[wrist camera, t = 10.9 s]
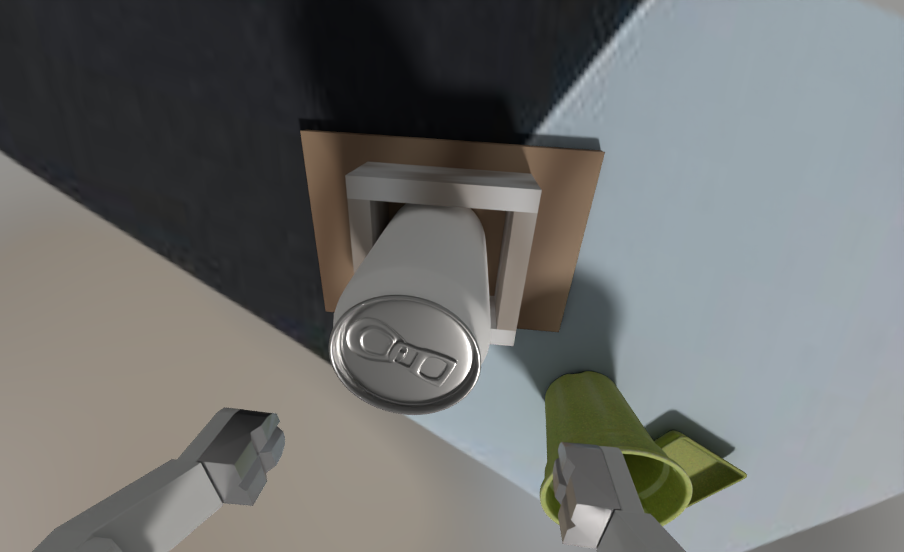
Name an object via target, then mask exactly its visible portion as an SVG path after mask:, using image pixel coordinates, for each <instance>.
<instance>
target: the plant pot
mask: <svg viewBox="0 0 904 552" xmlns="http://www.w3.org/2000/svg"><path fill="white" fill-rule="evenodd" d="M545 413H546V436H547V464H546V467H545V479H544V480H543V482H542V485H541V488H540V501H541V505H542V508H543V510H544V511H545V513H546V514H547V515H548V516H549V517H550V518H551V519H552V520H553V521H554V522H555V523H557V524H558V525H559V519H558V513H559V510H560V506H561V504H560V503H559V502H558V500H557V499H556V498H555V494H554V487H553V467H554V462H555V460H556V459H558V458H559V454H558V448H559V444H560V443H561V442H568V443H580V444H591V445H598V446H607V447H617V448H619V449H620V450H621V452H622V454H623V457H624V459H625V462H626V465H627V467H628V470H629V473H630V475H631V478H632V481H633V483H634V486H635V489H636V491H637V494H638V497H639V499H640V502H641V505H642V507H643V510H644V513H647V514H651V515H652V516H653V517H654V518H655V519H656V520H657V521H658V522H659V523H660V524H661V525H662V526H664V525H666V524H667V523H669V522H671V521H672V520H674V519H675V518H676V517H678V516H679V515H680V514H681V513H682V512H683V511H684V509H685V508H686V507H687V505H688V504H689V502H690V500H691V497H692V492H693V491H692V483H691V481H690V478H689V476H688V475H687V473H686V472H685V470H684V469H683V468H682V467H681V466H680V465H679V464H678V463H677V462H675V461H674V460H672V459H671V458H669V457H668V456H667V454H666V453H665V452H664V451H663V450H662V449H661V448H660V447H659V446H658V445H657V444H655V443H654V441H653V440H652V438H651V437H650V435H649V434H648V432H647V431H646V430H645V428H644V427H643V425H642V424H641V422H640V421H639V419H638V418H637V416H636V415H635V413H634V412H633V410H632V409H631V407H630V406H629V404H628V403H627V401H626V400H625V398H624V397H623V396H622V394H621V393H620V391H619V390H618V388H617V387H616V385H615V384H614V383H613V382H612V381H611V380H610V379H609V378H608V377H606V376H604V375H602V374H600V373H596V372H591V371H585V372H583V373H579V374H566V375H563V376H561V377H560V378H558V379H557V380H555V381H554V382H553V383H552V384H551V385H550V386H549V388H548V390H547V392H546V395H545Z"/></svg>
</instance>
